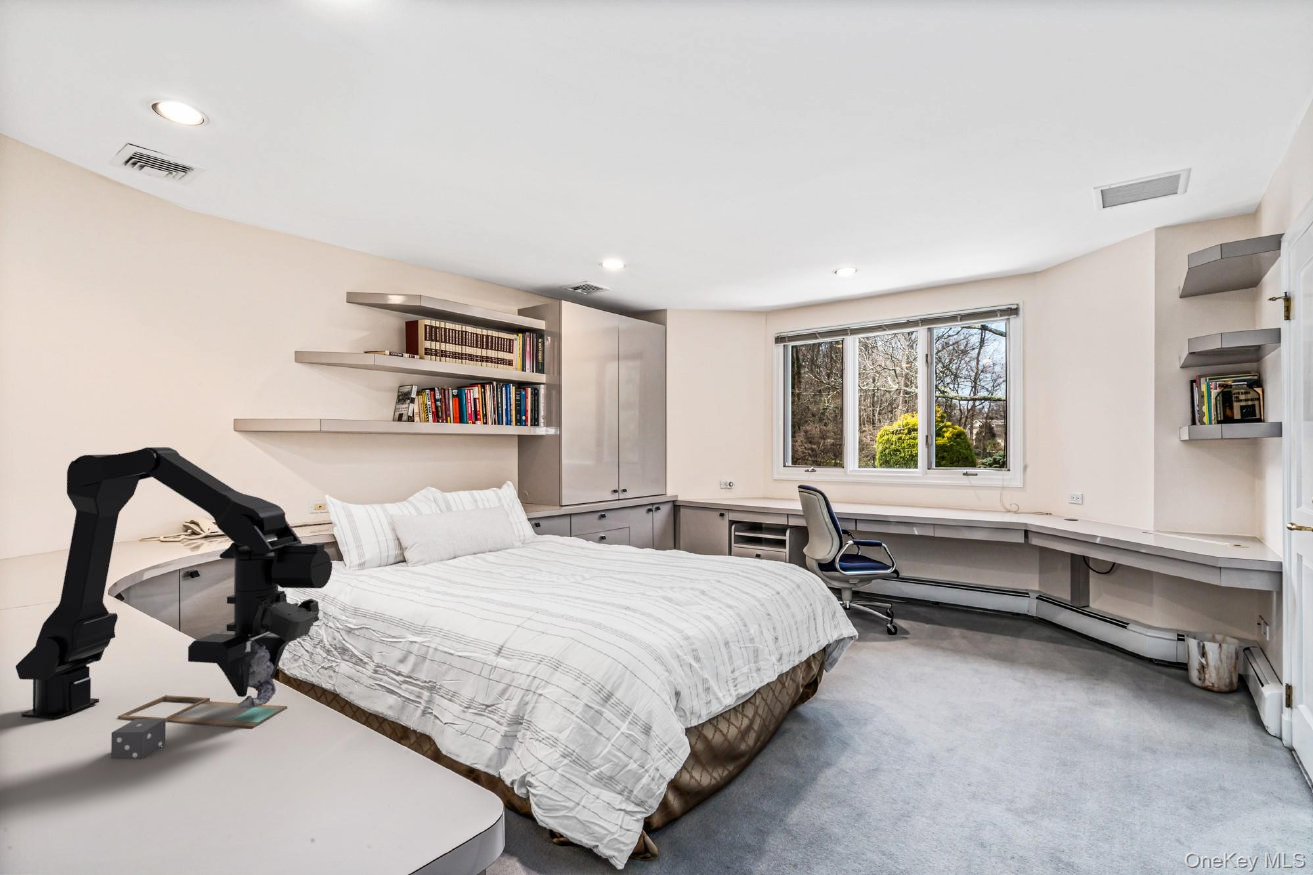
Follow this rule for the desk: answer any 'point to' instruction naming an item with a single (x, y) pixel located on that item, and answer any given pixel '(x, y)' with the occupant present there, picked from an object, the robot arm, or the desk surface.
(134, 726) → the die
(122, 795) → the desk surface
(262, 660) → the seashell
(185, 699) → the frame
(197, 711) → the board
